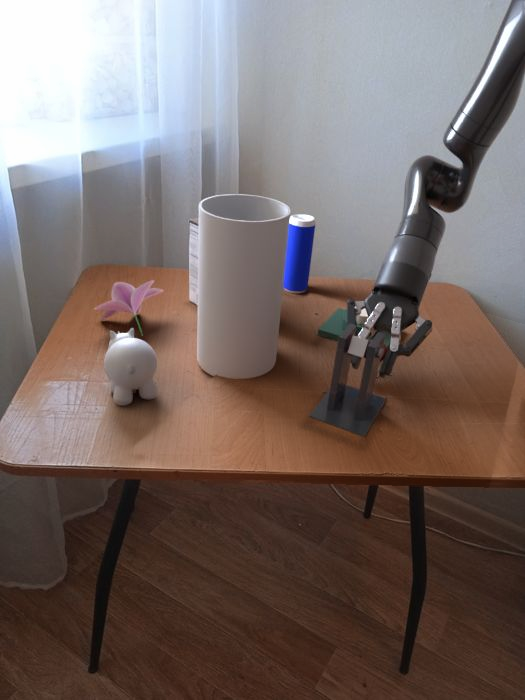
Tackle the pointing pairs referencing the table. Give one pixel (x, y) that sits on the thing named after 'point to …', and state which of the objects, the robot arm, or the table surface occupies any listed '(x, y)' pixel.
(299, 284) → the beverage can
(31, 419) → the table surface
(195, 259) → the coffee box
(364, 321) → the button
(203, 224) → the cylinder vase
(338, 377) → the grey lever stand
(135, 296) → the lily
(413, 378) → the table surface
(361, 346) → the tap lever
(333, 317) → the button box
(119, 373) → the chubby cartoon animal
